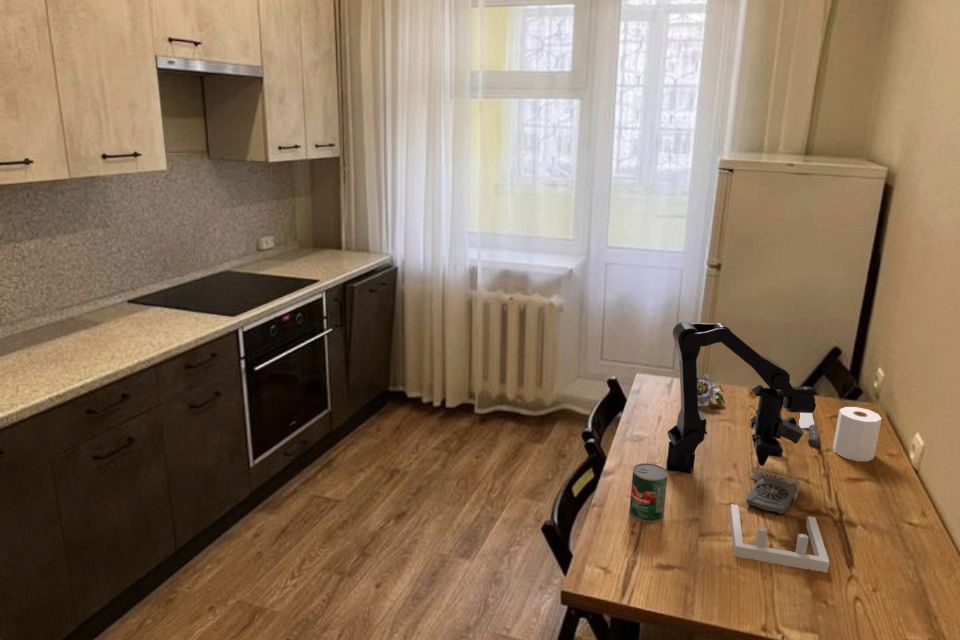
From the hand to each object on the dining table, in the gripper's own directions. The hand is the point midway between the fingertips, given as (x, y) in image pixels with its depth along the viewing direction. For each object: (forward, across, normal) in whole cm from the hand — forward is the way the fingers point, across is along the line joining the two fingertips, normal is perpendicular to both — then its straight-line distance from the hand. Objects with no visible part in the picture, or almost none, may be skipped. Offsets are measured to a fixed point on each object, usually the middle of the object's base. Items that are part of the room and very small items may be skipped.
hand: (761, 465), depth 184 cm
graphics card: (+2, -14, 0) cm, 14 cm away
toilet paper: (+2, +19, -26) cm, 32 cm away
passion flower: (+2, +43, +14) cm, 45 cm away
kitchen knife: (+2, +34, -16) cm, 38 cm away
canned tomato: (+2, -31, +28) cm, 42 cm away
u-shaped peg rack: (+2, -33, 0) cm, 33 cm away
